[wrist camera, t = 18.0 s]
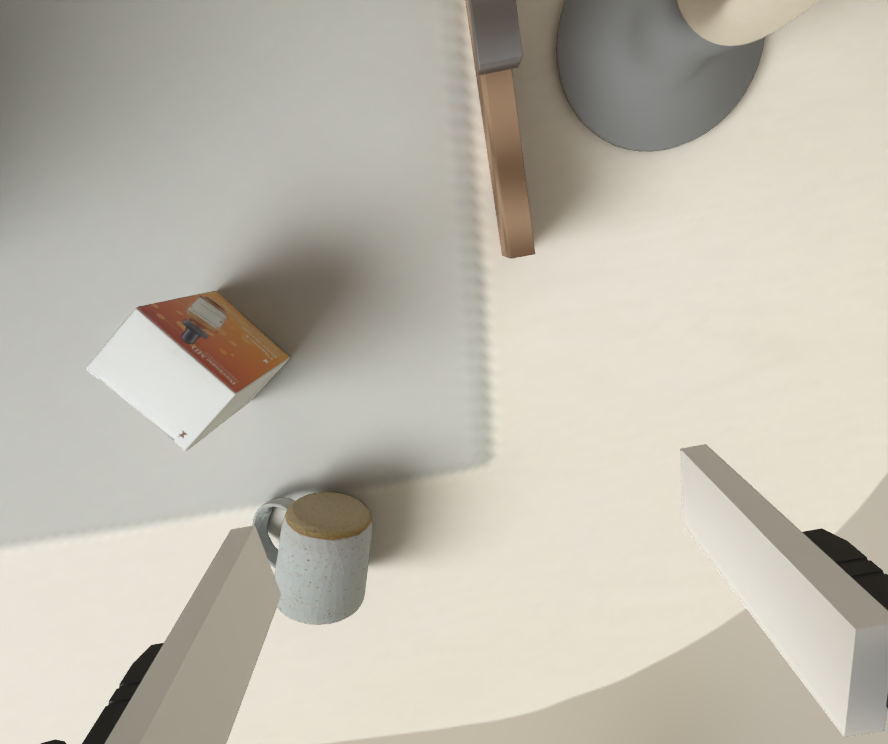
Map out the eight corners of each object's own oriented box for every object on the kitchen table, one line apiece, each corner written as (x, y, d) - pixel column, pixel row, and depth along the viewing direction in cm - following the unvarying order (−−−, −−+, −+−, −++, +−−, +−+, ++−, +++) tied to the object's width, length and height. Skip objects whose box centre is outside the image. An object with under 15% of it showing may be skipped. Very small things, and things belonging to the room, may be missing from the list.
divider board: (528, 250, 39) (546, 253, 31) (497, 256, 39) (508, 260, 31) (474, -160, 33) (480, -285, 25) (437, -152, 33) (432, -273, 25)
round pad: (515, 29, 35) (516, 26, 35) (687, -131, 33) (691, -137, 32) (631, 193, 38) (634, 192, 37) (799, 55, 35) (804, 52, 35)
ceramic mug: (381, 492, 44) (364, 543, 37) (371, 572, 47) (354, 635, 39) (261, 475, 44) (221, 522, 37) (257, 556, 47) (218, 615, 39)
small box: (292, 357, 42) (240, 395, 31) (249, 403, 43) (185, 455, 32) (215, 287, 40) (134, 304, 30) (173, 336, 41) (81, 369, 31)
